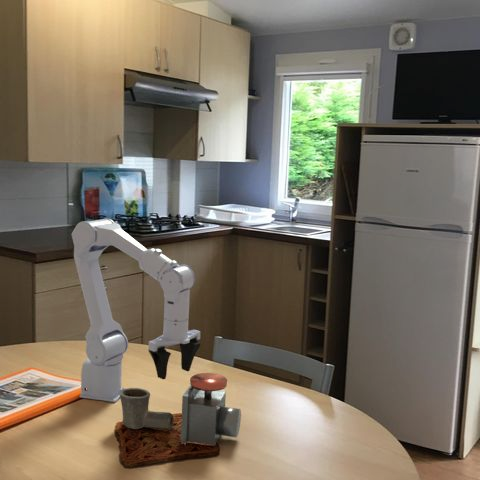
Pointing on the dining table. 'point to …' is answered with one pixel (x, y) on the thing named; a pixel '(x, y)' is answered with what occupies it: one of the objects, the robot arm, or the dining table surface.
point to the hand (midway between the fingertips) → (173, 373)
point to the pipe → (142, 411)
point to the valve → (207, 410)
